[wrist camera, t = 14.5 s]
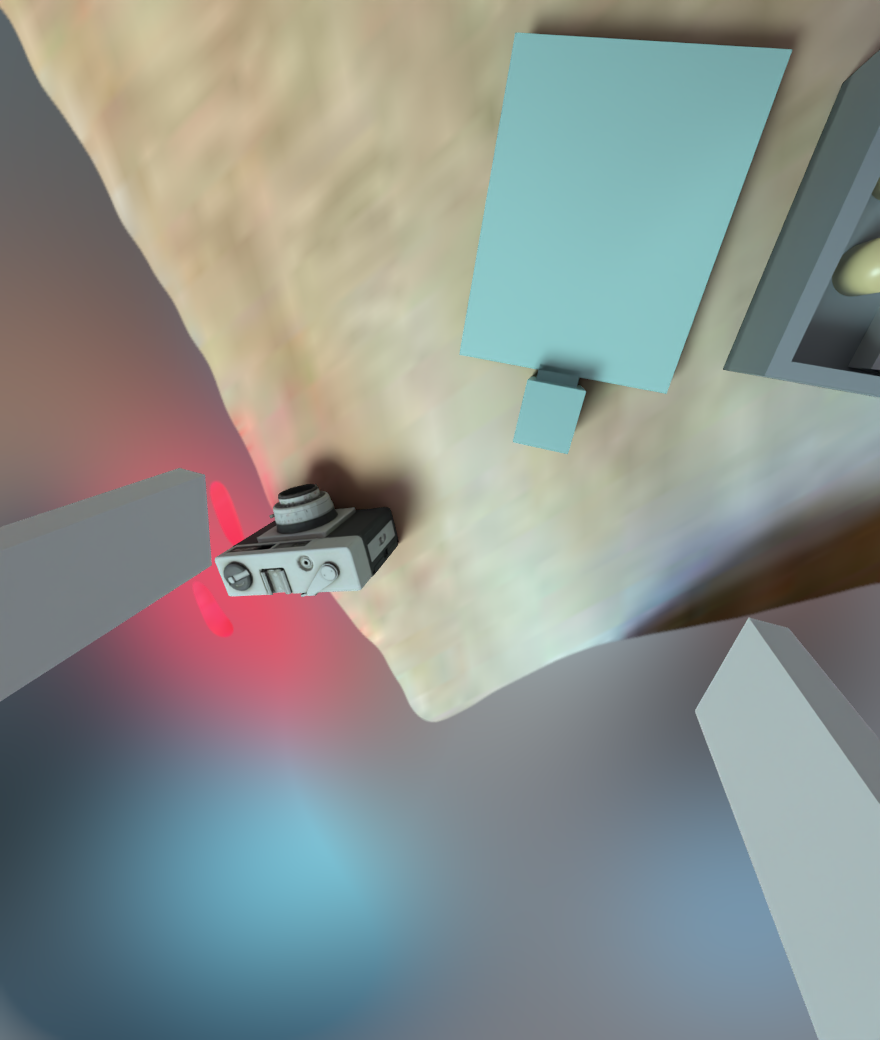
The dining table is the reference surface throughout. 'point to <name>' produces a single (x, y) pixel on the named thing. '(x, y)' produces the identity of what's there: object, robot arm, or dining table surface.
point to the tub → (826, 260)
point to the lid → (609, 211)
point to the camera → (310, 548)
